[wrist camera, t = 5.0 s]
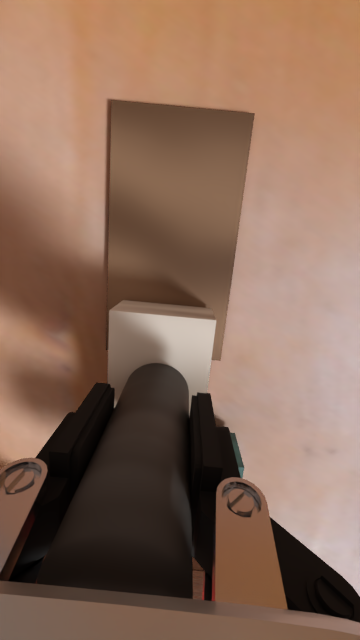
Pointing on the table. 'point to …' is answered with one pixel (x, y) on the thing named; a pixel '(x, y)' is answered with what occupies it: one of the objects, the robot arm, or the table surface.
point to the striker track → (175, 205)
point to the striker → (140, 460)
